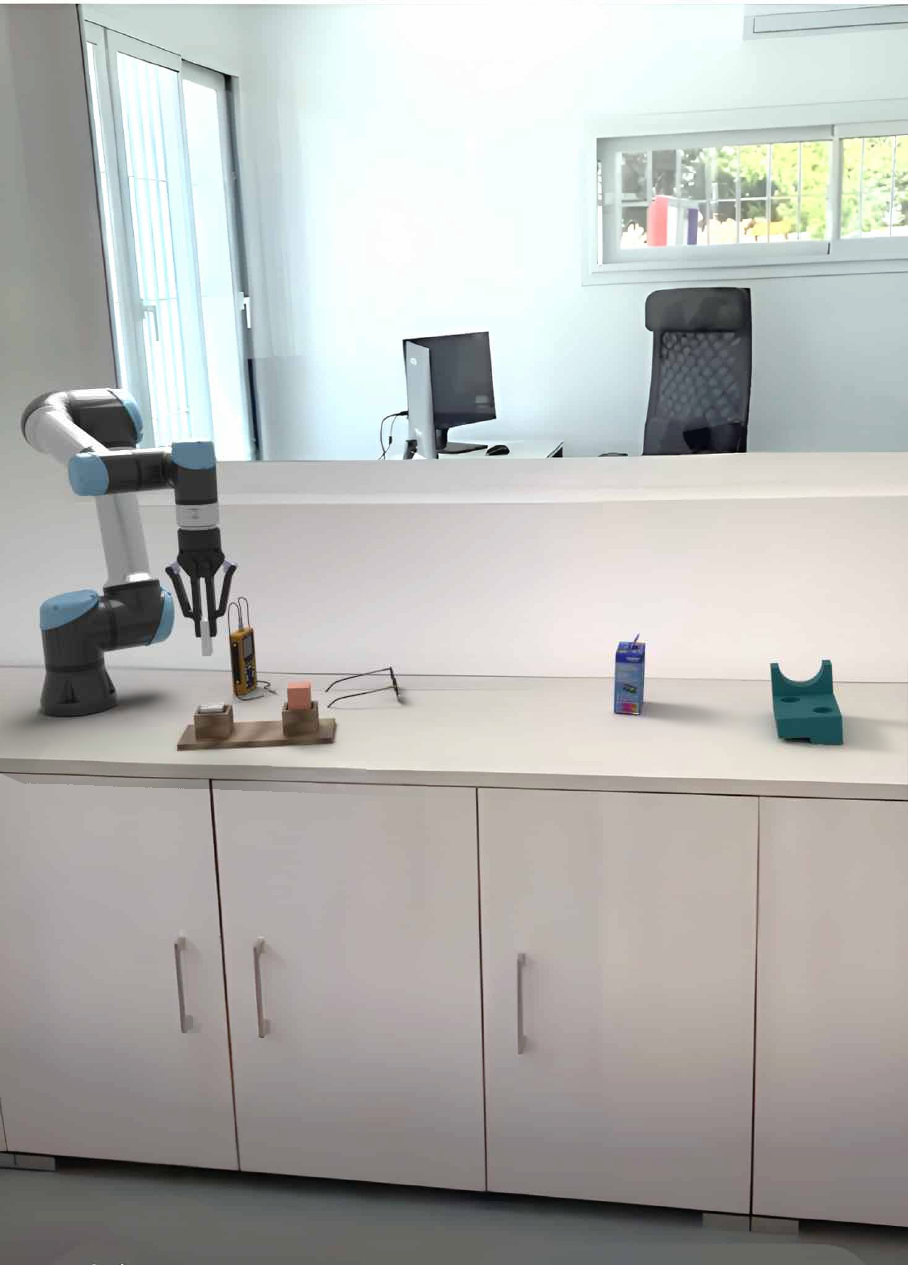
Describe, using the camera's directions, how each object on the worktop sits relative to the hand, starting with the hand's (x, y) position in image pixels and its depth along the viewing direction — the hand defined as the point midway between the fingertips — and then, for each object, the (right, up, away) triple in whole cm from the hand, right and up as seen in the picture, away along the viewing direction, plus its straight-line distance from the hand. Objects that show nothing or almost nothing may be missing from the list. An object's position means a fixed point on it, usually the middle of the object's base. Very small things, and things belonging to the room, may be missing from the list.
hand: (207, 653), depth 213 cm
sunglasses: (+26, -10, +27) cm, 39 cm away
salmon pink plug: (+17, -11, +3) cm, 20 cm away
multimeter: (+4, -9, +34) cm, 35 cm away
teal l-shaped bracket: (+109, -14, -1) cm, 110 cm away
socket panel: (+9, -15, +4) cm, 18 cm away
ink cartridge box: (+80, -11, +14) cm, 82 cm away
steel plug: (+1, -14, +3) cm, 15 cm away
